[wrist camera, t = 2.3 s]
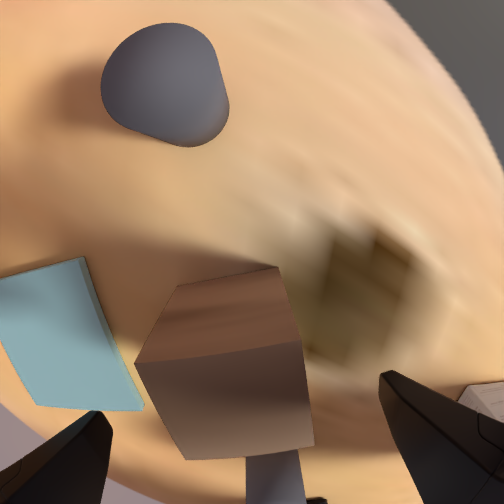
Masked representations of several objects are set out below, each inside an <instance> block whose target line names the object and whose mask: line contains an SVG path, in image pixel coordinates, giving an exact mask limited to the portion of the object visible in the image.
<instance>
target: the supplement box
mask: <svg viewBox="0 0 504 504" xmlns="http://www.w3.org/2000/svg"><path fill="white" fill-rule="evenodd" d="M457 402H458V403H461V404H463V405H465V406H467V407H469V408H471V409H473V410H475V411H477V412H478V413H479V412H480V413H482V414H484V415H486V416H489V417H491V418H493V419H496V420H498V421H501V422H503V423H504V382H498V383H490V384H480V385H469V386H467V388H466V389H465V391H464V392H463V394H462V395H461V397H460V398H459V400H458V401H457Z"/></svg>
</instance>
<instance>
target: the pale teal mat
mask: <svg viewBox="0 0 504 504" xmlns="http://www.w3.org/2000/svg"><path fill="white" fill-rule="evenodd" d="M0 340H1V342H2V344H3V347H4V349H5V351H6V353H7V355H8V357H9V359H10V361H11V362H12V364H13V366H14V368H15V370H16V372H17V374H18V375H19V377H20V379H21V381H22V382H23V384H24V386H25V387H26V389H27V391H28V392H29V394H30V396H31V397H32V399H33V400H34V402H35V404H36V405H40V406H48V407H58V408H68V409H82V410H101V411H142V410H143V408H144V405H145V404H144V402H143V400H142V398H141V396H140V394H139V392H138V390H137V388H136V386H135V384H134V382H133V380H132V378H131V376H130V374H129V372H128V370H127V368H126V366H125V364H124V361H123V359H122V357H121V355H120V352H119V350H118V348H117V346H116V343H115V341H114V339H113V336H112V334H111V331H110V329H109V326H108V324H107V321H106V319H105V316H104V314H103V311H102V308H101V306H100V303H99V300H98V298H97V295H96V292H95V289H94V286H93V283H92V280H91V277H90V274H89V271H88V268H87V265H86V261H85V258H84V257H80V258H76V259H72V260H68V261H64V262H60V263H56V264H52V265H48V266H45V267H41V268H37V269H33V270H30V271H26V272H22V273H18V274H15V275H11V276H8V277H4V278H1V279H0Z"/></svg>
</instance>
